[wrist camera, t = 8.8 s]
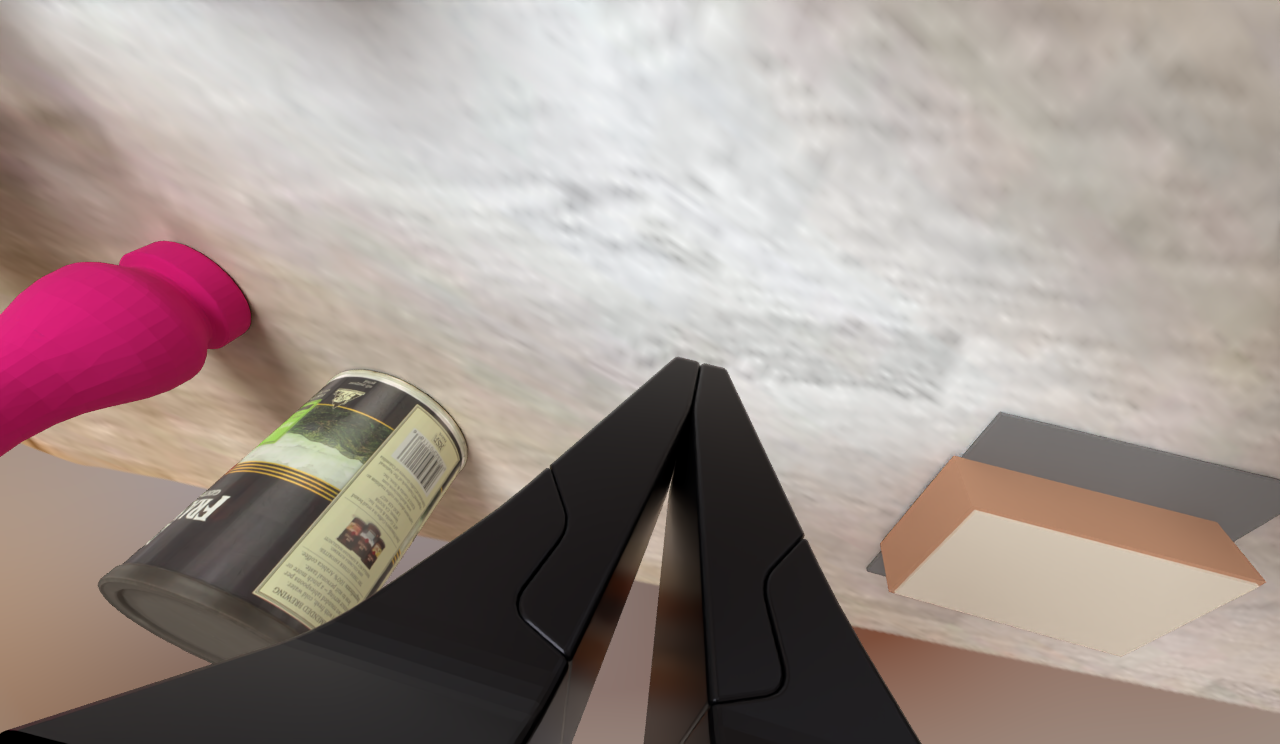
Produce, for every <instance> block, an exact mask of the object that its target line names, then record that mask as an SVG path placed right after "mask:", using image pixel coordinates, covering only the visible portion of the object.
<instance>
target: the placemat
mask: <svg viewBox="0 0 1280 744" xmlns="http://www.w3.org/2000/svg"><path fill="white" fill-rule="evenodd" d="M961 458H965V459H969V460H973V461H977V462H981V463H985V464H989V465H992V466H996V467H1000V468H1004V469H1008V470H1012V471H1016V472H1020V473H1024V474H1028V475H1032V476H1036V477H1040V478H1044V479H1048V480H1052V481H1056V482H1060V483H1064V484H1068V485H1072V486H1076V487H1080V488H1084V489H1088V490H1091V491H1095V492H1099V493H1103V494H1107V495H1111V496H1115V497H1119V498H1123V499H1127V500H1131V501H1135V502H1139V503H1143V504H1147V505H1151V506H1155V507H1159V508H1163V509H1167V510H1171V511H1175V512H1179V513H1183V514H1187V515H1190V516H1194V517H1198V518H1202V519H1206V520H1210V521H1214V522H1217V523H1218V524H1219V525H1220V526H1221V528H1222V529H1223V530H1224V531H1225V533H1226V534H1227V535H1228V536H1229V537H1230V539H1231V540H1232V541H1233V542H1234V541H1236V540H1237V539H1239V538H1241V537H1242V536H1244V535H1246V534H1247V533H1249V532H1251V531H1252V530H1254V529H1256V528H1258V527H1259V526H1261V525H1263V524H1264V523H1266V522H1268V521H1269V520H1271V519H1273V518H1274V517H1276V516H1278V515H1280V480H1278V479H1274V478H1270V477H1265V476H1261V475H1257V474H1253V473H1249V472H1245V471H1241V470H1237V469H1233V468H1228V467H1224V466H1220V465H1216V464H1212V463H1208V462H1204V461H1200V460H1195V459H1191V458H1187V457H1183V456H1179V455H1175V454H1171V453H1167V452H1163V451H1158V450H1154V449H1150V448H1146V447H1142V446H1138V445H1134V444H1130V443H1126V442H1121V441H1117V440H1113V439H1109V438H1105V437H1101V436H1097V435H1093V434H1088V433H1084V432H1080V431H1076V430H1072V429H1068V428H1064V427H1060V426H1056V425H1051V424H1047V423H1043V422H1039V421H1035V420H1031V419H1027V418H1023V417H1018V416H1014V415H1010V414H1006V413H1002V412H1000V413H999V414H998V415H997V416H996V417H995V419H994V420H993V421H992V422H991V423H990V424H989V426H988V427H987V428H986V429H985V430H984V431H983V433H982V434H981V435H980V436H979V437H978V438H977V440H976V441H975V442H974V443H973V444H972V445H971V447H970V448H969V449H968V450H967V451H966V452H965V454H964V455H963V456H962V457H961ZM866 569H867V571H868V572H872V573H875V574H879V575H882V576H886V573H885V567H884V562H883V556H882V551H881V552H880V553H879V554H878V555H877V557H876V558H875V559H874V560H873V561H872V562H871V564H870V565H869V566H868V567H867V568H866Z"/></svg>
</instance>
